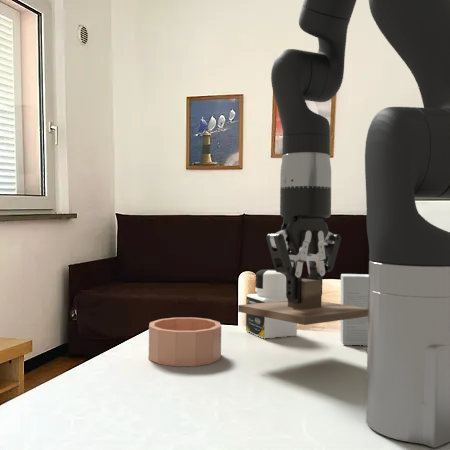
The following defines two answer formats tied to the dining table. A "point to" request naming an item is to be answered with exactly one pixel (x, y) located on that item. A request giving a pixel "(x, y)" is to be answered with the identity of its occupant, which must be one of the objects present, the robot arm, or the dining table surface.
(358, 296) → the skincare box
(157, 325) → the terracotta bowl
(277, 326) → the medicine bottle
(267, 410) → the dining table surface
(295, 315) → the walnut lid
